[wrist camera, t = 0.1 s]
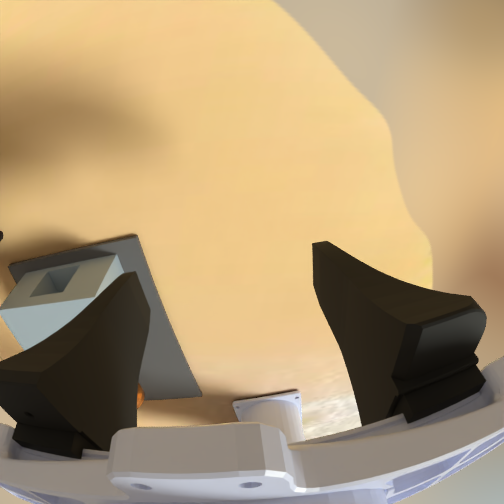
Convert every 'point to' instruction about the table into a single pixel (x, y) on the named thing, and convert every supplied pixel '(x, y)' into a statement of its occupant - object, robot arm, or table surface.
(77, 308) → the block
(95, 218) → the table surface
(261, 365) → the table surface
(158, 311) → the mat
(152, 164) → the table surface
